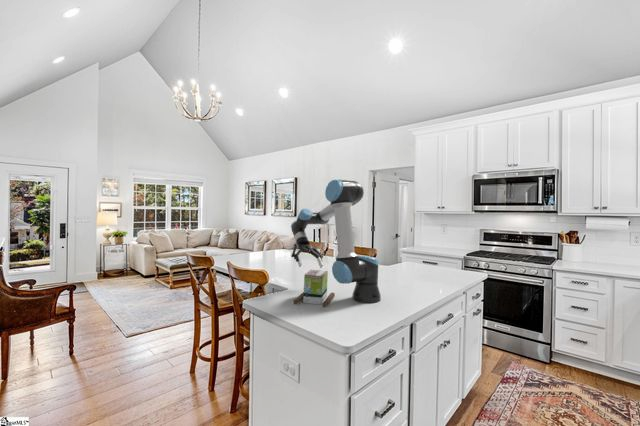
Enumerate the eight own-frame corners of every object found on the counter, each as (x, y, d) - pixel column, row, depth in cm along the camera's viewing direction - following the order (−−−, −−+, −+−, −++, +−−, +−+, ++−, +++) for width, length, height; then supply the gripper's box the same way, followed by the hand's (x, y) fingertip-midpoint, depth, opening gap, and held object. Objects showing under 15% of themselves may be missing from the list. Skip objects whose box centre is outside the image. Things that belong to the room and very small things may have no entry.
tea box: (322, 304, 155) (322, 275, 155) (302, 303, 157) (303, 274, 157) (327, 296, 170) (327, 269, 169) (309, 295, 172) (310, 268, 171)
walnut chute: (334, 296, 170) (334, 292, 170) (326, 307, 150) (326, 303, 150) (305, 293, 174) (305, 290, 174) (293, 304, 155) (293, 300, 155)
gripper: (317, 246, 198) (327, 271, 183) (281, 243, 187) (289, 269, 171) (321, 237, 195) (332, 262, 179) (285, 234, 183) (293, 260, 168)
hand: (311, 266), depth 175 cm, fingers open, 13 cm apart
